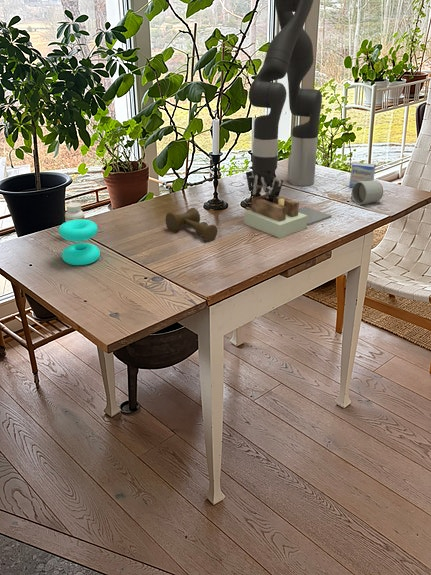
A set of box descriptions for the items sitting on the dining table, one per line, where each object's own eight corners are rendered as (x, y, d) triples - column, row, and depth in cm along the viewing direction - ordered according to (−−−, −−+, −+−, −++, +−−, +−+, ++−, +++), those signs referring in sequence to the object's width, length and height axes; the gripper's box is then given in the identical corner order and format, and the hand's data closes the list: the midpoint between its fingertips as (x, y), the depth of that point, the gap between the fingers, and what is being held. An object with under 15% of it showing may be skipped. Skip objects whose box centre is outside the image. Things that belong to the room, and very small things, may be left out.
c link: (251, 210, 179) (251, 198, 177) (269, 205, 184) (270, 192, 182) (279, 221, 171) (280, 208, 169) (298, 215, 176) (299, 202, 174)
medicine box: (348, 188, 212) (351, 164, 208) (351, 184, 216) (353, 161, 212) (370, 190, 210) (374, 166, 206) (372, 187, 213) (375, 163, 209)
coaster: (282, 215, 187) (282, 214, 186) (305, 208, 193) (305, 206, 193) (308, 225, 179) (308, 223, 179) (331, 217, 186) (331, 215, 186)
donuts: (92, 215, 159) (101, 228, 151) (95, 249, 163) (104, 263, 155) (54, 220, 155) (61, 233, 147) (59, 255, 160) (66, 269, 152)
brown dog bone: (198, 247, 166) (157, 225, 179) (224, 239, 172) (183, 219, 185) (199, 227, 163) (157, 206, 177) (225, 220, 169) (183, 201, 182)
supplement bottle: (86, 232, 174) (83, 201, 170) (86, 239, 170) (83, 207, 165) (68, 233, 173) (64, 202, 169) (67, 240, 169) (63, 208, 164)
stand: (243, 223, 181) (244, 195, 176) (271, 214, 188) (272, 187, 183) (279, 237, 171) (280, 208, 166) (306, 227, 178) (308, 199, 173)
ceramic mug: (383, 203, 197) (386, 181, 194) (364, 207, 194) (367, 185, 190) (363, 195, 206) (365, 173, 202) (344, 198, 202) (346, 177, 199)
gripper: (239, 150, 175) (238, 204, 183) (273, 159, 166) (270, 216, 174) (257, 146, 180) (255, 199, 188) (291, 155, 170) (288, 211, 178)
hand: (262, 207), depth 181 cm, fingers open, 4 cm apart
